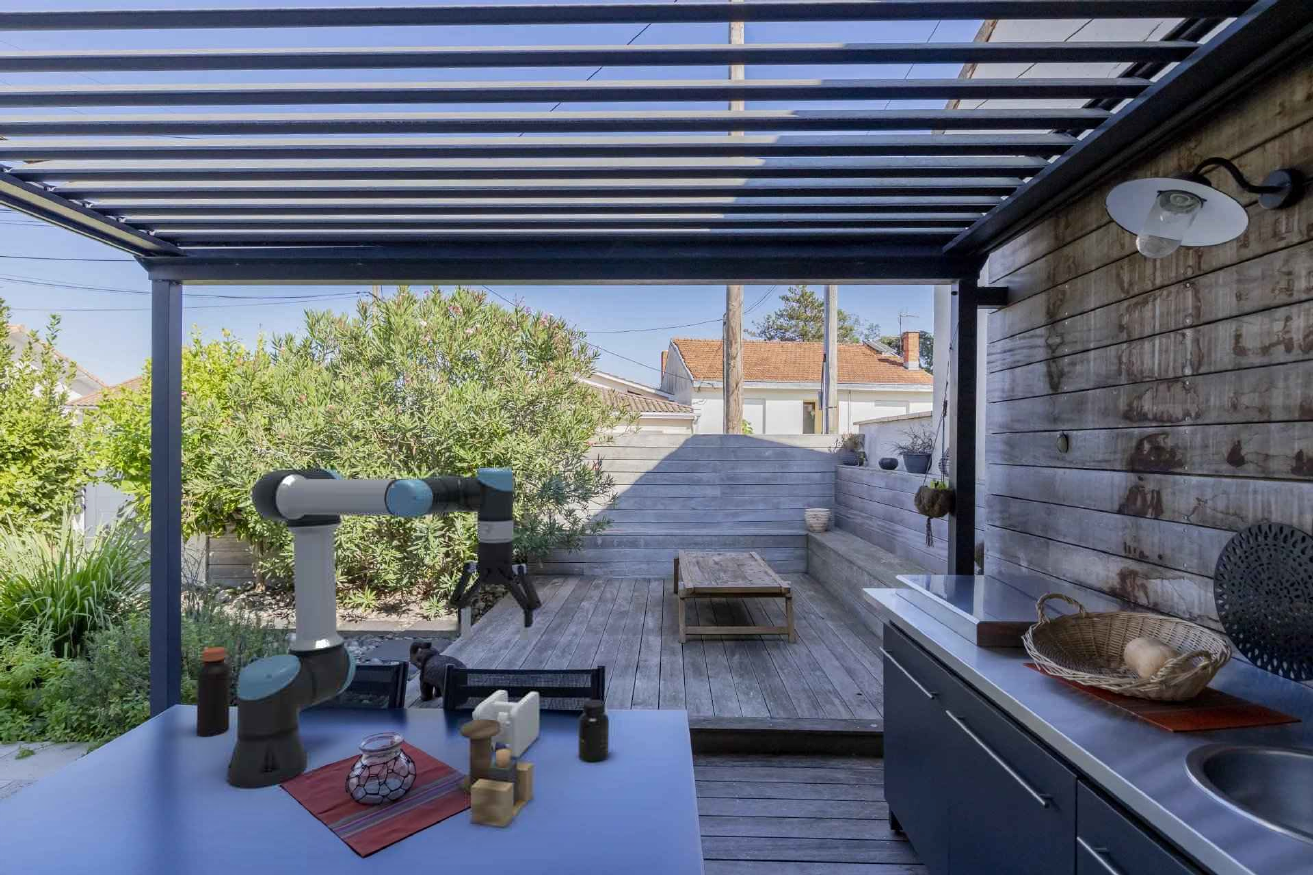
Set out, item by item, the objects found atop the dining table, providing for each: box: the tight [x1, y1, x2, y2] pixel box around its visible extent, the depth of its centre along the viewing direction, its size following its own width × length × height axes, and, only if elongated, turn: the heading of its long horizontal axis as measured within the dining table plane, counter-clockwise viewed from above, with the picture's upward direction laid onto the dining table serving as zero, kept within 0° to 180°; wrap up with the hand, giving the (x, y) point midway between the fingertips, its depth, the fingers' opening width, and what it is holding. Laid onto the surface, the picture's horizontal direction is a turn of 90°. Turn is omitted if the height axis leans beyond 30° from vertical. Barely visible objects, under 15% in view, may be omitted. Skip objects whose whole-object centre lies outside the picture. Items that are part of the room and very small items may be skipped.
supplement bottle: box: [577, 699, 610, 763], centre depth 162 cm, size 7×7×12 cm
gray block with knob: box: [489, 748, 518, 806], centre depth 138 cm, size 4×4×10 cm
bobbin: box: [460, 719, 501, 794], centre depth 148 cm, size 8×8×12 cm
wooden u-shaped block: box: [470, 761, 534, 828], centre depth 138 cm, size 7×12×7 cm, turn 166°
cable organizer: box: [471, 689, 540, 759], centre depth 167 cm, size 15×11×12 cm
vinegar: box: [196, 646, 231, 737], centre depth 176 cm, size 7×7×20 cm
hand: (494, 640), depth 152 cm, fingers open, 13 cm apart
